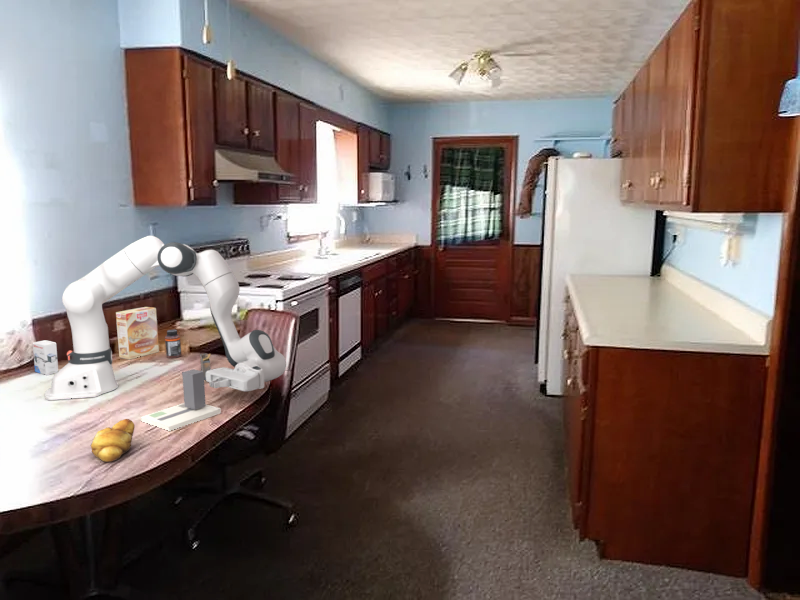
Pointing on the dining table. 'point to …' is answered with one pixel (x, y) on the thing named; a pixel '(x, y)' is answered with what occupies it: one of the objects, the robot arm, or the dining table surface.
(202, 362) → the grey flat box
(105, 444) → the bread roll
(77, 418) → the dining table surface
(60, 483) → the dining table surface
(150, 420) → the switch panel
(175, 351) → the supplement bottle
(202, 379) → the switch tab
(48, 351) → the ink box
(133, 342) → the coffeecake box
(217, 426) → the dining table surface
